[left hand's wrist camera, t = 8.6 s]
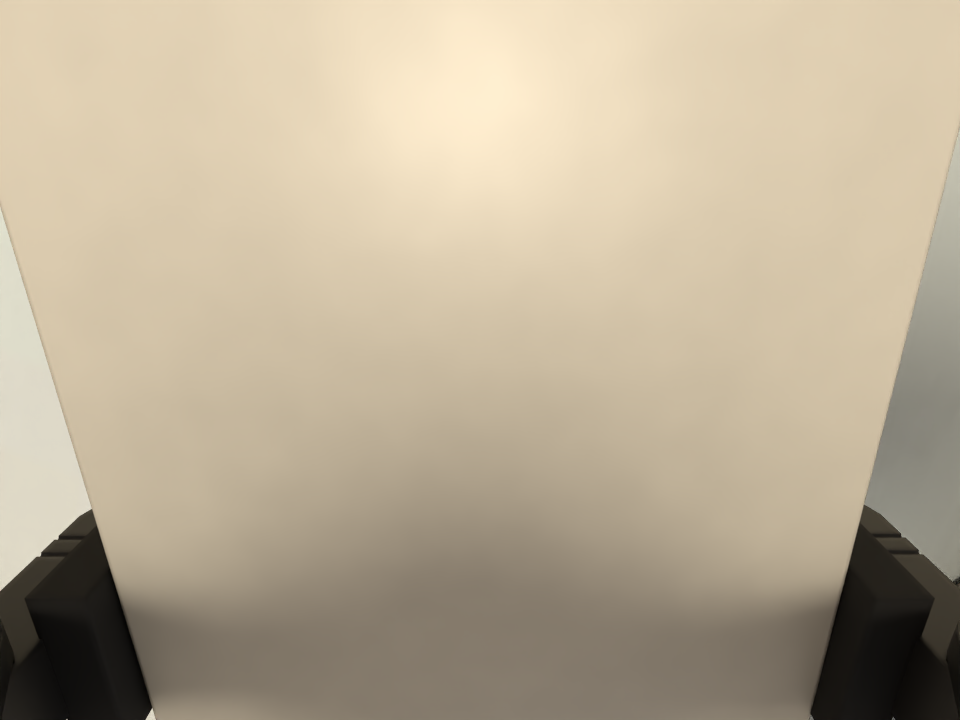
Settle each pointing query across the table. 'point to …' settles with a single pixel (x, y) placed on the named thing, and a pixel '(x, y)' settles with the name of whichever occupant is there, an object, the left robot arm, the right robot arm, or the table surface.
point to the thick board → (476, 335)
